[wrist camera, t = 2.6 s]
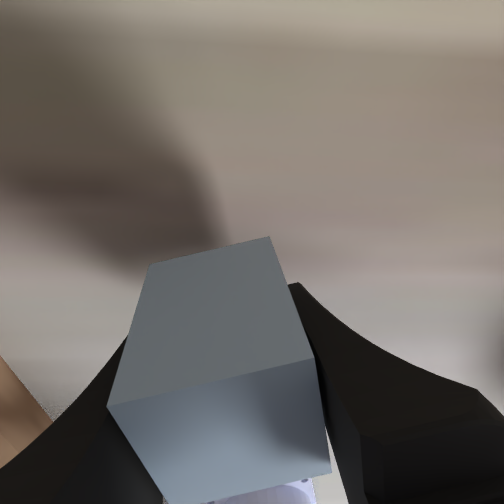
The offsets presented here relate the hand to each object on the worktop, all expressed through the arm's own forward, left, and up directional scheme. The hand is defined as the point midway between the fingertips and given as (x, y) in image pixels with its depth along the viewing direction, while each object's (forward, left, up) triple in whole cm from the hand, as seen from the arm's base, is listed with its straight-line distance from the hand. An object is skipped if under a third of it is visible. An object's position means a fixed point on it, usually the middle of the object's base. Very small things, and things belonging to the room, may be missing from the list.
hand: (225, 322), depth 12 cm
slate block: (0, 0, -1) cm, 1 cm away
